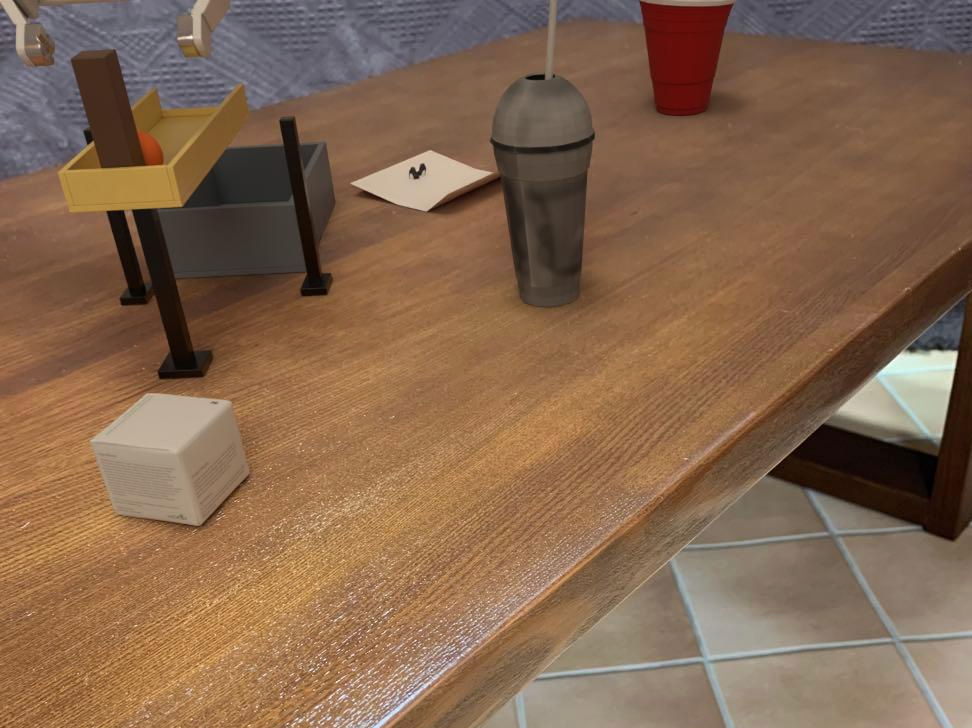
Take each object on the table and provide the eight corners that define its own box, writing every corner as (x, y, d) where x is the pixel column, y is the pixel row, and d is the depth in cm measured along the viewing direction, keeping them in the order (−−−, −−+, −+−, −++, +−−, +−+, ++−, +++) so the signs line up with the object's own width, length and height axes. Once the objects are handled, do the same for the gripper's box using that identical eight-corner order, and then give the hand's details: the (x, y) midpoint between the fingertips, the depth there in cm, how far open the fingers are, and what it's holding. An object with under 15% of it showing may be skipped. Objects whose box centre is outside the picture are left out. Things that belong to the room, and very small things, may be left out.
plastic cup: (752, 108, 120) (760, -11, 113) (677, 127, 115) (680, 4, 108) (688, 91, 127) (692, -22, 120) (615, 108, 123) (615, -9, 116)
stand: (299, 372, 72) (261, 181, 65) (63, 384, 73) (-2, 195, 65) (332, 279, 85) (304, 111, 78) (132, 290, 86) (84, 123, 78)
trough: (182, 207, 64) (145, 56, 59) (69, 213, 64) (23, 62, 59) (250, 117, 80) (225, -8, 75) (159, 121, 81) (129, -2, 76)
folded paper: (431, 161, 110) (429, 141, 109) (527, 178, 104) (526, 157, 103) (349, 196, 102) (346, 175, 101) (448, 216, 96) (446, 194, 95)
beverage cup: (487, 287, 83) (464, -1, 71) (573, 268, 85) (565, -13, 73) (523, 322, 77) (505, 17, 65) (614, 301, 79) (612, 2, 68)
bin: (306, 272, 87) (294, 204, 84) (168, 279, 87) (151, 212, 84) (335, 201, 101) (326, 141, 98) (216, 207, 101) (203, 147, 98)
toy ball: (102, 134, 67) (105, 182, 67) (123, 118, 64) (125, 168, 64) (149, 145, 69) (151, 192, 69) (170, 130, 67) (173, 178, 67)
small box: (167, 462, 64) (146, 388, 61) (253, 474, 62) (235, 398, 59) (110, 516, 59) (84, 439, 56) (201, 530, 58) (179, 451, 55)
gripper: (-83, -184, 63) (-93, 33, 60) (267, -206, 62) (269, 11, 60) (-24, -103, 69) (-32, 96, 67) (294, -123, 69) (297, 77, 66)
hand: (114, 56), depth 63 cm, fingers open, 8 cm apart
